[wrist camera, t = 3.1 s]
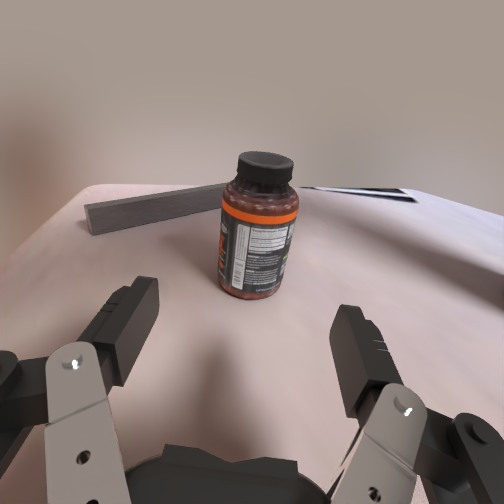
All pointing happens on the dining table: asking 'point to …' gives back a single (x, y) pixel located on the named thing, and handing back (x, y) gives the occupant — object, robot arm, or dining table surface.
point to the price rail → (151, 208)
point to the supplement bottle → (257, 225)
